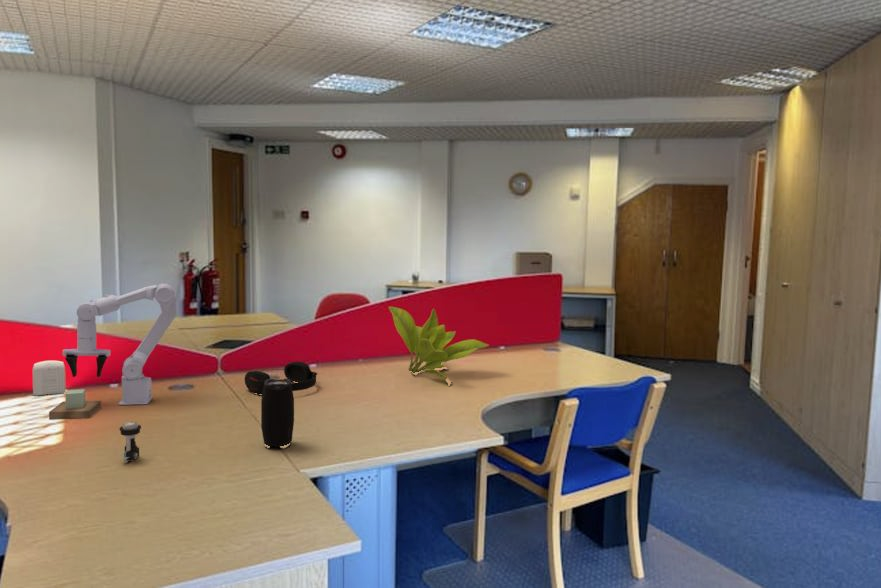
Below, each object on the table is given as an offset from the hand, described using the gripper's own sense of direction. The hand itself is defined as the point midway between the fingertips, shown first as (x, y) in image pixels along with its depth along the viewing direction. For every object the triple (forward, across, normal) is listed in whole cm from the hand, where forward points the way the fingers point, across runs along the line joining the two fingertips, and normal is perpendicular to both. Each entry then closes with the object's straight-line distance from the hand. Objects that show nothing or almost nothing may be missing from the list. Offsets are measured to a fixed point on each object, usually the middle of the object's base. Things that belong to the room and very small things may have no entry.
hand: (86, 376), depth 225 cm
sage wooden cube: (+8, +1, +9) cm, 12 cm away
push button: (+10, -26, +56) cm, 62 cm away
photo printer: (+11, +17, -17) cm, 27 cm away
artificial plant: (+7, -129, -29) cm, 132 cm away
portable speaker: (+9, -65, +49) cm, 82 cm away
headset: (+9, -65, -17) cm, 68 cm away
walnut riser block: (+11, +1, +9) cm, 14 cm away
